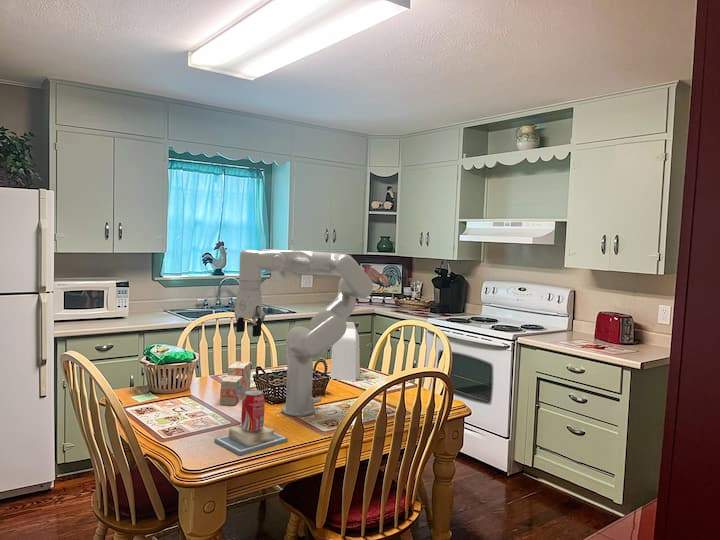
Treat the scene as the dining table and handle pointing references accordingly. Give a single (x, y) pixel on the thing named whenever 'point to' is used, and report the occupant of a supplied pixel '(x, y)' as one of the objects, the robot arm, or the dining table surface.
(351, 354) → the milk
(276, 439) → the butter dish
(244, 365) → the stack of blocks
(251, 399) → the soda can
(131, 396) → the dining table surface
